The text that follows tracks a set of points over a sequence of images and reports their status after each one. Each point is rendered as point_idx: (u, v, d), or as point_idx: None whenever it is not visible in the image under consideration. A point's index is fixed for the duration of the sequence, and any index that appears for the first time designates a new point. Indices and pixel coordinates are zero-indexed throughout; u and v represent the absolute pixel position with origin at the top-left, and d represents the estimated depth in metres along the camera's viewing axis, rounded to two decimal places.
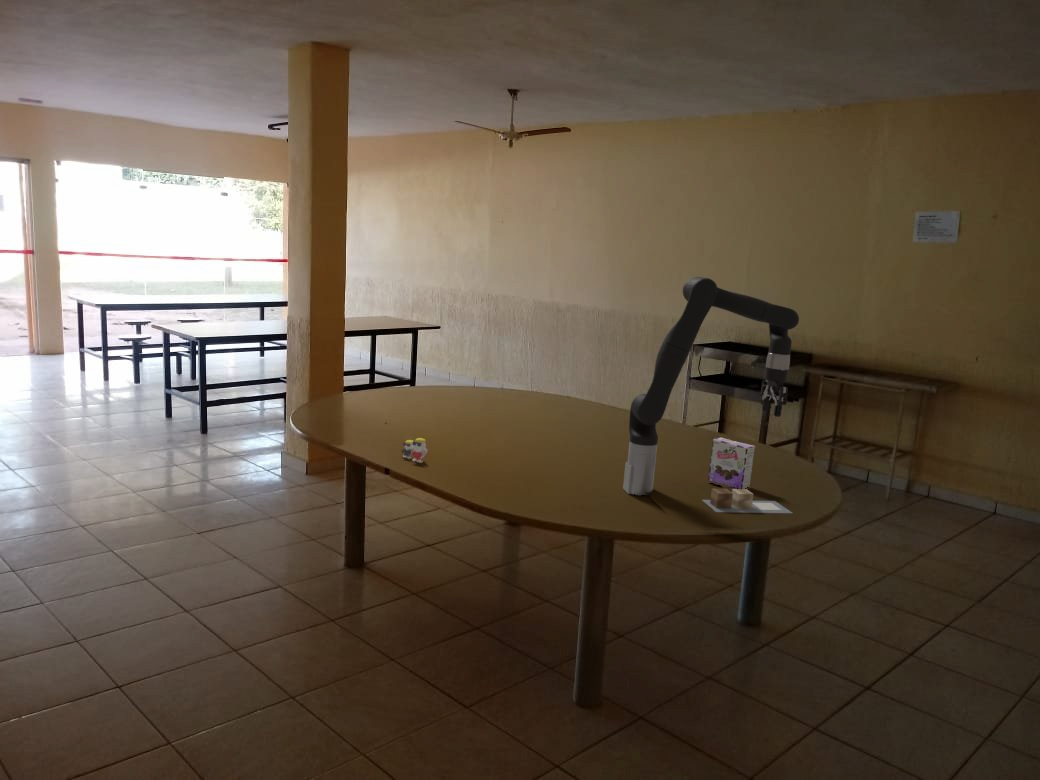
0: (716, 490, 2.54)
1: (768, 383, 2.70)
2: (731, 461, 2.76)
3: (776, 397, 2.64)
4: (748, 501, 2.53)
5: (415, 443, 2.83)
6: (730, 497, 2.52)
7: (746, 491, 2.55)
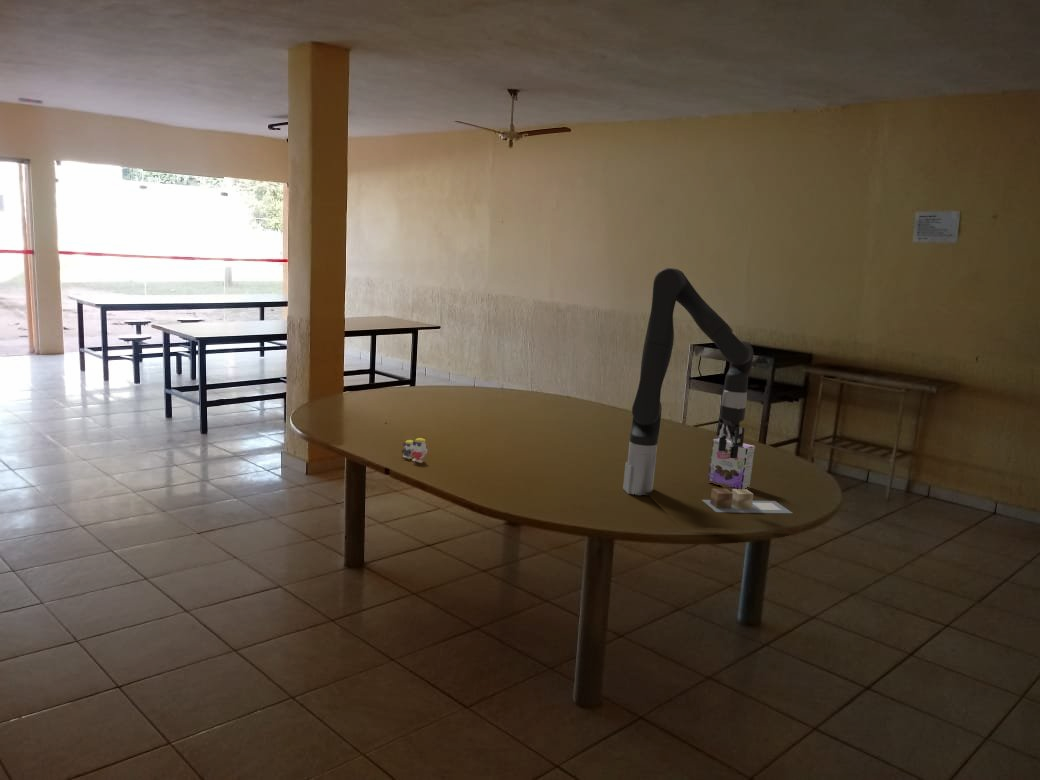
0: (716, 490, 2.54)
1: (724, 422, 2.52)
2: (731, 461, 2.76)
3: (732, 438, 2.47)
4: (748, 501, 2.53)
5: (415, 443, 2.83)
6: (730, 497, 2.52)
7: (746, 491, 2.55)
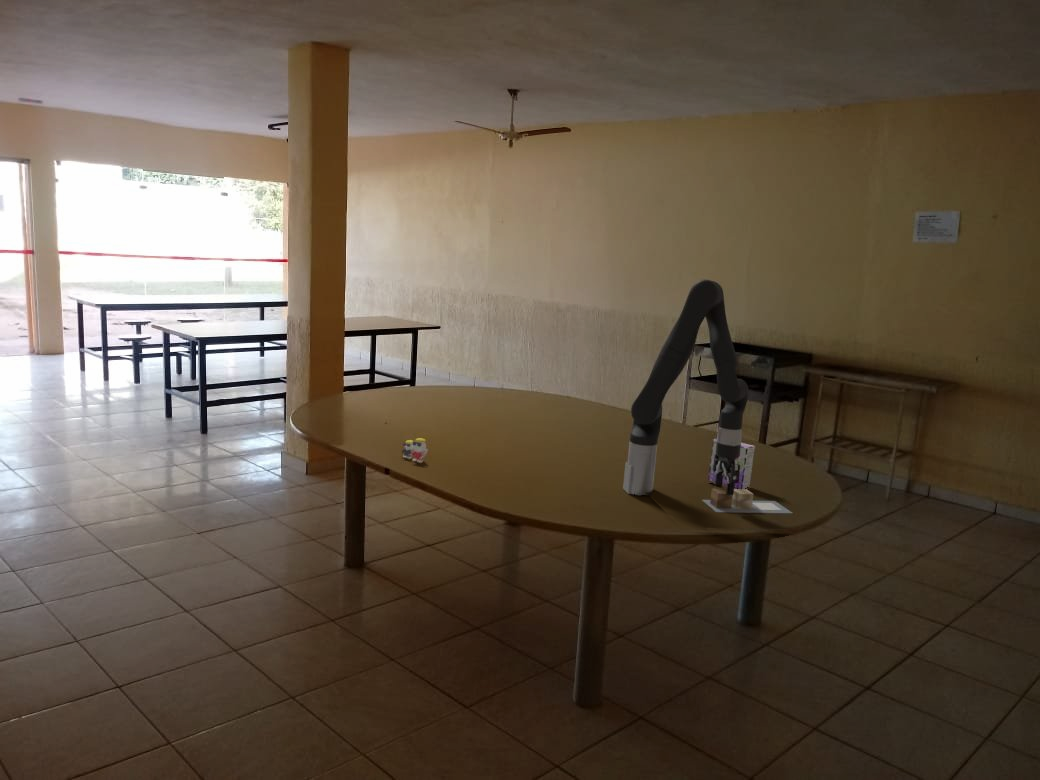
0: (716, 490, 2.54)
1: (720, 458, 2.54)
2: None
3: (728, 474, 2.48)
4: (748, 501, 2.53)
5: (415, 443, 2.83)
6: (730, 497, 2.52)
7: (746, 491, 2.55)
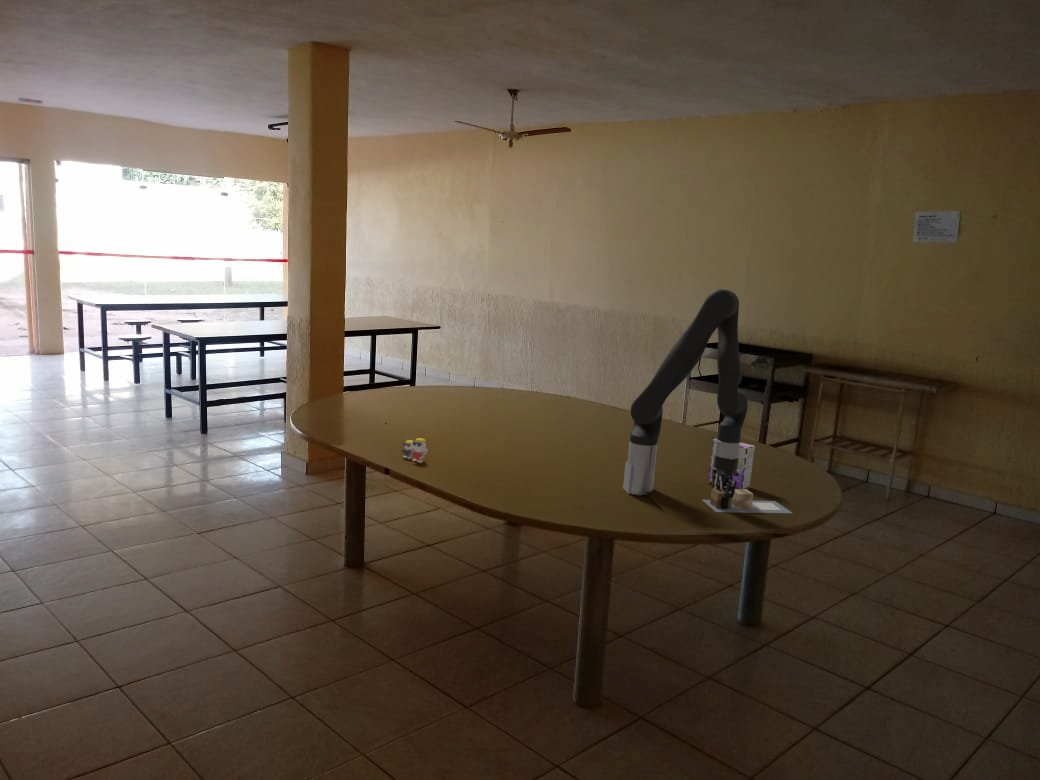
0: (716, 490, 2.54)
1: (718, 470, 2.55)
2: None
3: (724, 489, 2.50)
4: (748, 501, 2.53)
5: (415, 443, 2.83)
6: (730, 497, 2.52)
7: (746, 491, 2.55)
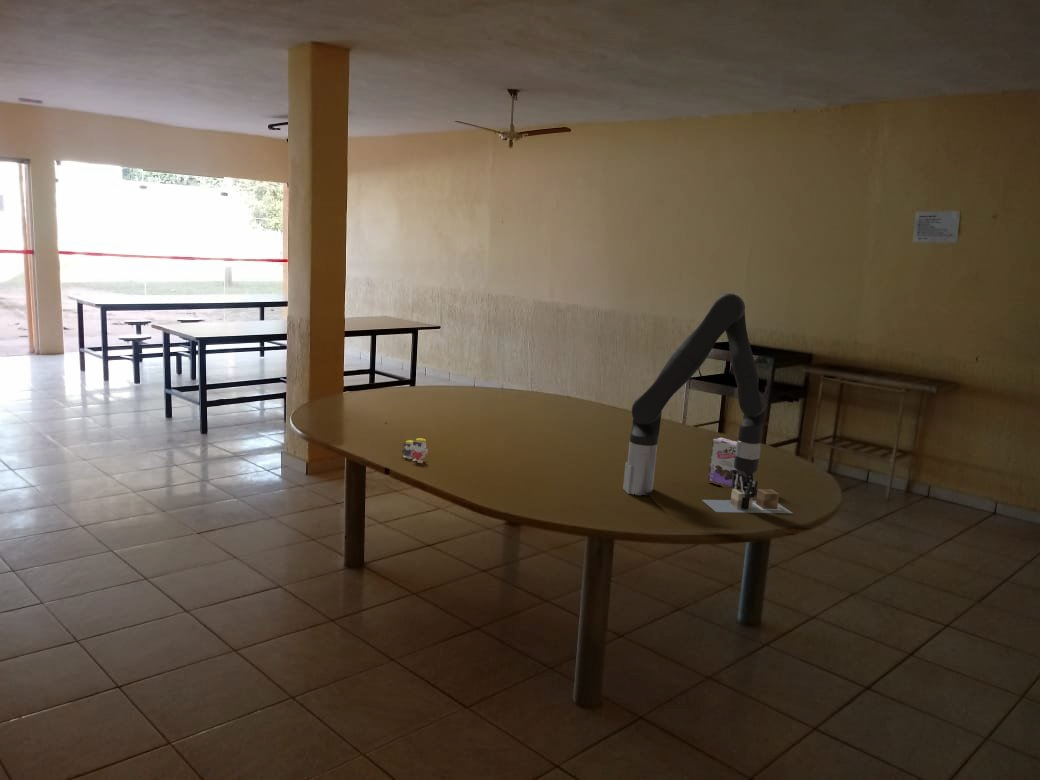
0: (762, 490, 2.57)
1: (738, 470, 2.56)
2: (731, 461, 2.76)
3: (744, 489, 2.51)
4: None
5: (415, 443, 2.83)
6: (776, 497, 2.54)
7: None
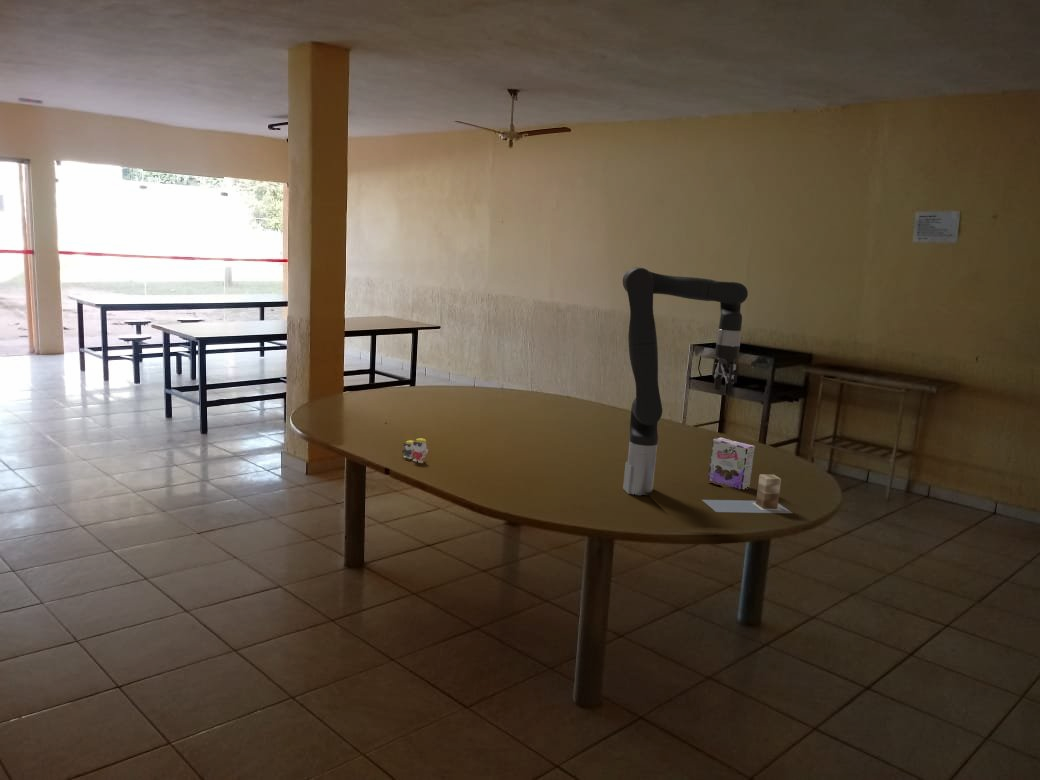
0: None
1: (719, 361, 2.62)
2: (731, 461, 2.76)
3: (726, 375, 2.56)
4: (775, 486, 2.54)
5: (416, 443, 2.83)
6: (776, 497, 2.54)
7: (774, 476, 2.56)
